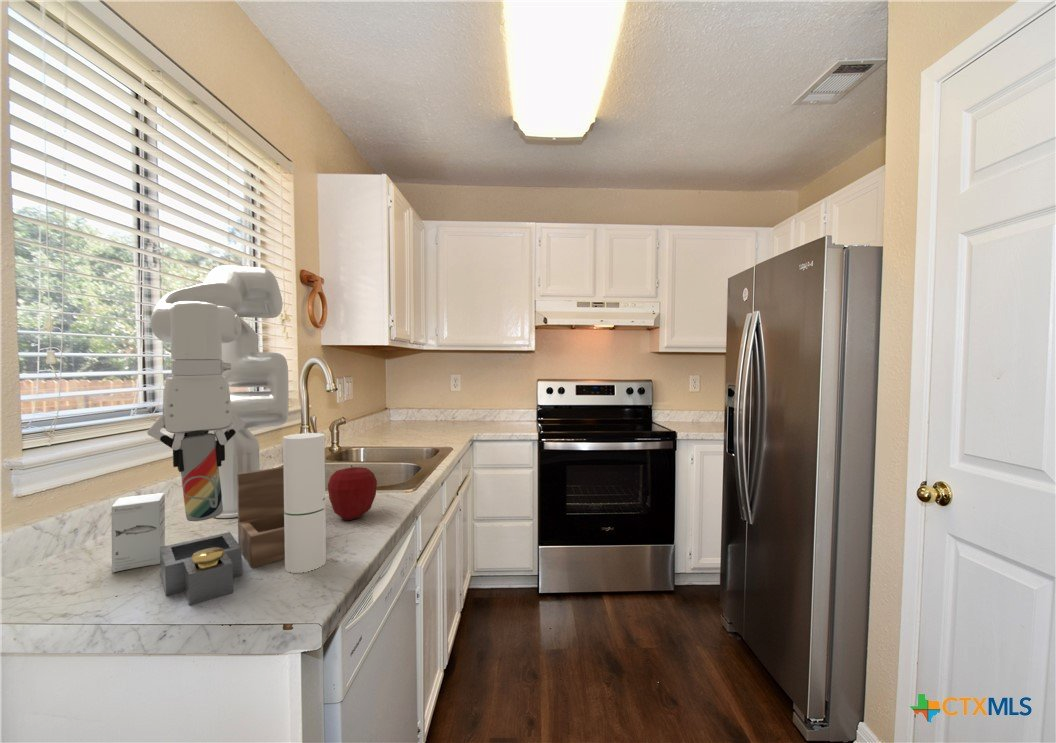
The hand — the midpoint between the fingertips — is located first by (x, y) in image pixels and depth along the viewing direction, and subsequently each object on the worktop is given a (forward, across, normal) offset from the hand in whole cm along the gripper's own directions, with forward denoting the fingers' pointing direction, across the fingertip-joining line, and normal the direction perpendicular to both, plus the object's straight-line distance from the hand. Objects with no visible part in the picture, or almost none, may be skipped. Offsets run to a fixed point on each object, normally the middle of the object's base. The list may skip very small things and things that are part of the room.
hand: (199, 466), depth 84 cm
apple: (+21, -33, -11) cm, 40 cm away
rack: (+20, -13, -1) cm, 24 cm away
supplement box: (+20, +8, -14) cm, 26 cm away
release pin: (+19, 0, +10) cm, 21 cm away
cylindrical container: (+20, -15, +10) cm, 27 cm away
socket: (+20, 0, +4) cm, 20 cm away
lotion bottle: (+10, -1, 0) cm, 10 cm away
